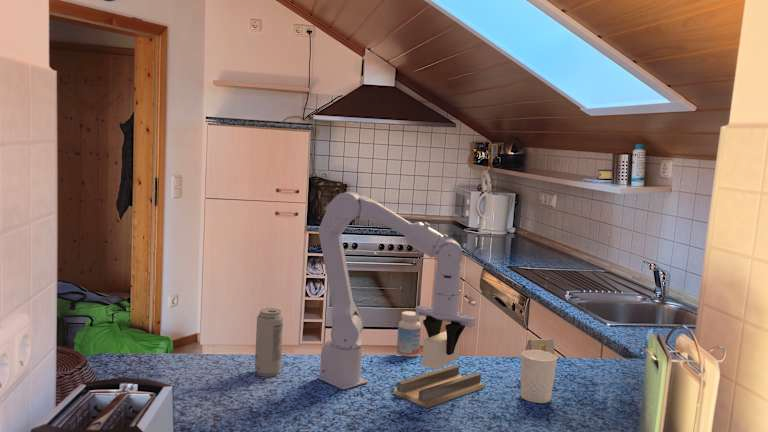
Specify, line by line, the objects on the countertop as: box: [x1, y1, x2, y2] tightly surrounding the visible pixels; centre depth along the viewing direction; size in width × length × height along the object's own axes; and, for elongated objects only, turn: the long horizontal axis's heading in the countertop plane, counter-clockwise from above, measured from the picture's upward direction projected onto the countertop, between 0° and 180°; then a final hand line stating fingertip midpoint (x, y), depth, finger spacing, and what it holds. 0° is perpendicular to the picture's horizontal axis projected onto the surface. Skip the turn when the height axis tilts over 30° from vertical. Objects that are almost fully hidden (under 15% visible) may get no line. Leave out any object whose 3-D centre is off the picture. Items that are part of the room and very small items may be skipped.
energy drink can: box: [254, 307, 284, 377], centre depth 153 cm, size 6×6×15 cm
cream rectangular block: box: [421, 330, 460, 371], centre depth 147 cm, size 4×10×6 cm, turn 144°
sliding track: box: [393, 364, 484, 409], centre depth 149 cm, size 10×20×3 cm, turn 135°
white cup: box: [520, 350, 558, 404], centre depth 148 cm, size 8×8×10 cm
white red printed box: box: [524, 338, 556, 355], centre depth 161 cm, size 4×7×10 cm, turn 107°
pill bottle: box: [396, 310, 422, 358], centre depth 174 cm, size 6×6×11 cm
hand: (442, 351), depth 148 cm, fingers closed on cream rectangular block, 3 cm apart
